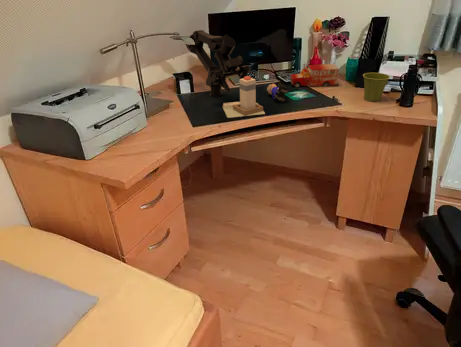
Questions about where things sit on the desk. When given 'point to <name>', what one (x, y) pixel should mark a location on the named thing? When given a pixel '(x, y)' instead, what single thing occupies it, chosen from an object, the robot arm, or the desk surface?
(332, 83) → the red toy bus
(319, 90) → the desk surface
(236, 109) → the jig
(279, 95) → the character figurine
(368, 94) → the plant pot
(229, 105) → the plate
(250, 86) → the tapered square pillar
